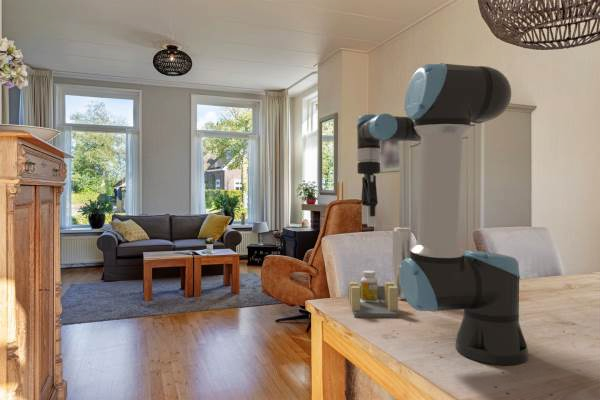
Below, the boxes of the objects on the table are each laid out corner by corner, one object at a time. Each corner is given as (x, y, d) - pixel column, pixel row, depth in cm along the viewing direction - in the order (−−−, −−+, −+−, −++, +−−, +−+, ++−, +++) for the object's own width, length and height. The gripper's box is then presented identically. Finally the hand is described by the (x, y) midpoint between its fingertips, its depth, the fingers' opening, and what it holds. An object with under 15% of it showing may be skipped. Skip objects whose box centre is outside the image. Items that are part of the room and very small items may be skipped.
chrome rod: (409, 295, 149) (409, 226, 149) (412, 300, 143) (412, 228, 142) (391, 295, 150) (391, 226, 150) (393, 299, 143) (393, 228, 143)
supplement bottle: (358, 299, 139) (358, 270, 139) (372, 297, 141) (372, 269, 141) (365, 303, 134) (365, 273, 134) (380, 301, 135) (380, 272, 135)
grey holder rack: (399, 317, 122) (399, 290, 122) (352, 317, 123) (352, 289, 123) (387, 300, 142) (387, 276, 142) (346, 300, 143) (346, 276, 143)
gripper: (387, 158, 125) (387, 227, 125) (374, 164, 150) (374, 222, 150) (362, 158, 125) (362, 227, 125) (353, 164, 150) (353, 222, 150)
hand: (368, 225), depth 138 cm, fingers open, 13 cm apart
